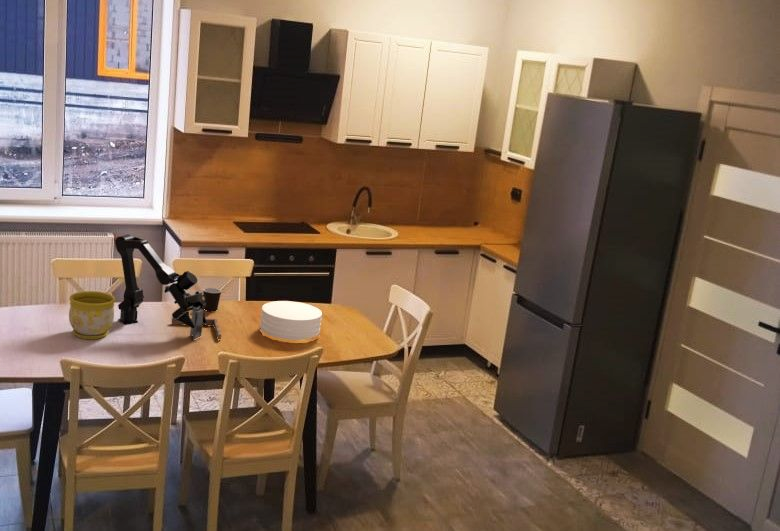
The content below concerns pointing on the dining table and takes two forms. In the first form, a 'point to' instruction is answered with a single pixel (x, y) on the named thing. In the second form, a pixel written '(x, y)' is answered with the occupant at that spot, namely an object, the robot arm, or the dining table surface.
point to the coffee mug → (211, 298)
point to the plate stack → (290, 320)
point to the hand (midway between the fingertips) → (199, 325)
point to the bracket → (197, 322)
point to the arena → (208, 322)
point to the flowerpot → (91, 314)
